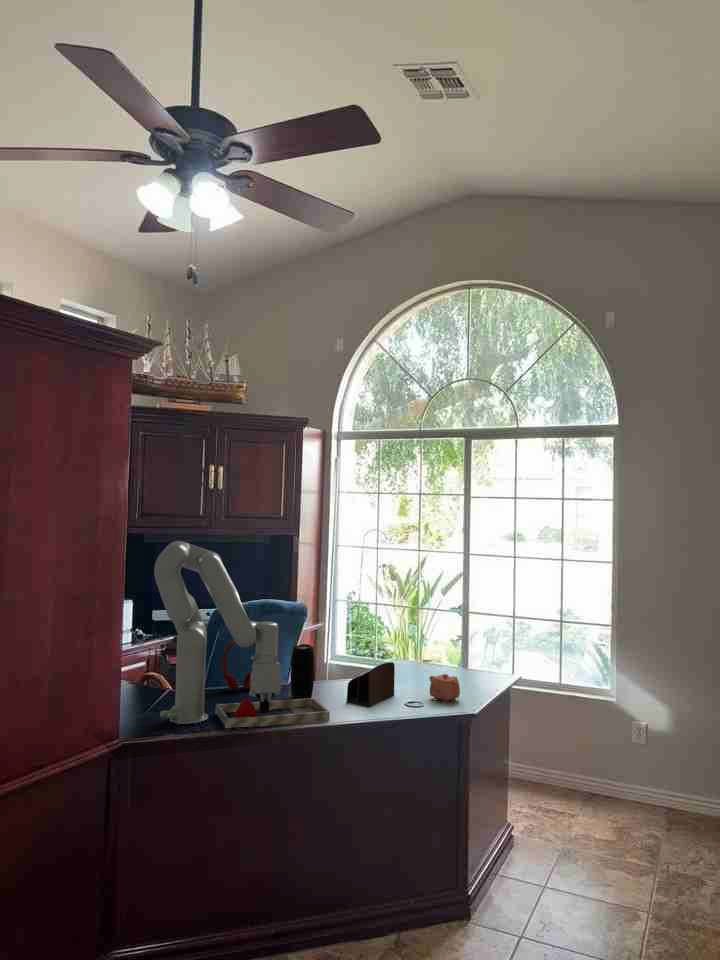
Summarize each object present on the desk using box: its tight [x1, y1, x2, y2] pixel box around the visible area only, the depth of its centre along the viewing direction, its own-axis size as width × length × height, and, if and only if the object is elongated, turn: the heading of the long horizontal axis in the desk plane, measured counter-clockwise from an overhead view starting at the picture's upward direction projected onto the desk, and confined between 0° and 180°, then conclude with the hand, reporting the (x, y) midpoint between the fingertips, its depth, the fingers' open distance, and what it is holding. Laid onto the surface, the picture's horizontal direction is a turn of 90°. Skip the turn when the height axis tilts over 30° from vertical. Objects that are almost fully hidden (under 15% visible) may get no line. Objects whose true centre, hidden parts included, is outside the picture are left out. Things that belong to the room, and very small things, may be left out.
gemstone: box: [232, 697, 259, 718], centre depth 248 cm, size 9×9×10 cm
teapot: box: [429, 673, 461, 703], centre depth 285 cm, size 12×12×10 cm
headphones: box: [221, 639, 256, 692], centre depth 289 cm, size 15×7×20 cm, turn 118°
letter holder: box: [346, 661, 396, 708], centre depth 282 cm, size 10×20×14 cm, turn 150°
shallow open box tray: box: [215, 697, 331, 729], centre depth 255 cm, size 36×18×4 cm, turn 112°
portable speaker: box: [289, 643, 315, 700], centre depth 281 cm, size 9×9×20 cm
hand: (264, 712), depth 254 cm, fingers closed
